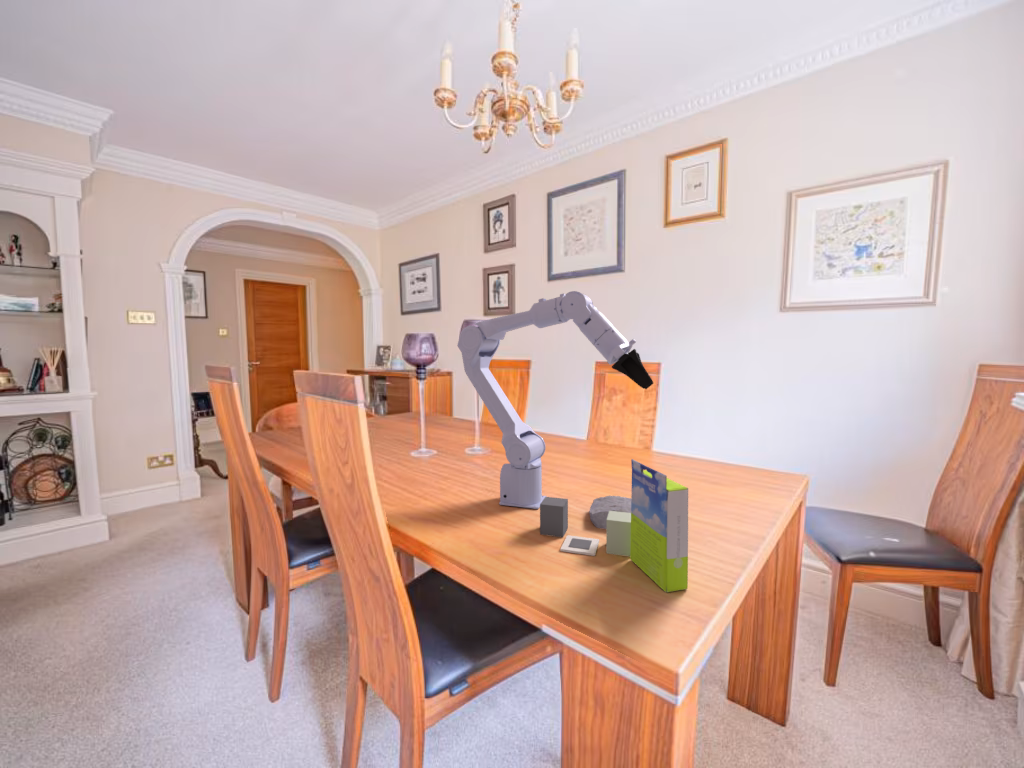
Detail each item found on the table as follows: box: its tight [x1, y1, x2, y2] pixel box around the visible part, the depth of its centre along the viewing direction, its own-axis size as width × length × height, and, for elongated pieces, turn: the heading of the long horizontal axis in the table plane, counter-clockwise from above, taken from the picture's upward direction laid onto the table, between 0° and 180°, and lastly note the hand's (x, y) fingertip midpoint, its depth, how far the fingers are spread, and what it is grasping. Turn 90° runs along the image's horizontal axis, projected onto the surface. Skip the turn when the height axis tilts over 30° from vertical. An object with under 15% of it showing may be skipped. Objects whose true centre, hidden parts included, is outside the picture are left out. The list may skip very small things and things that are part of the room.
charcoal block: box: [539, 496, 569, 538], centre depth 83 cm, size 4×4×6 cm
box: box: [629, 458, 689, 593], centre depth 66 cm, size 10×4×17 cm, turn 13°
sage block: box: [605, 511, 631, 557], centre depth 75 cm, size 4×4×6 cm
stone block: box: [588, 495, 631, 530], centre depth 89 cm, size 12×5×10 cm
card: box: [559, 534, 600, 557], centre depth 76 cm, size 6×6×1 cm
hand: (649, 385), depth 85 cm, fingers open, 7 cm apart
